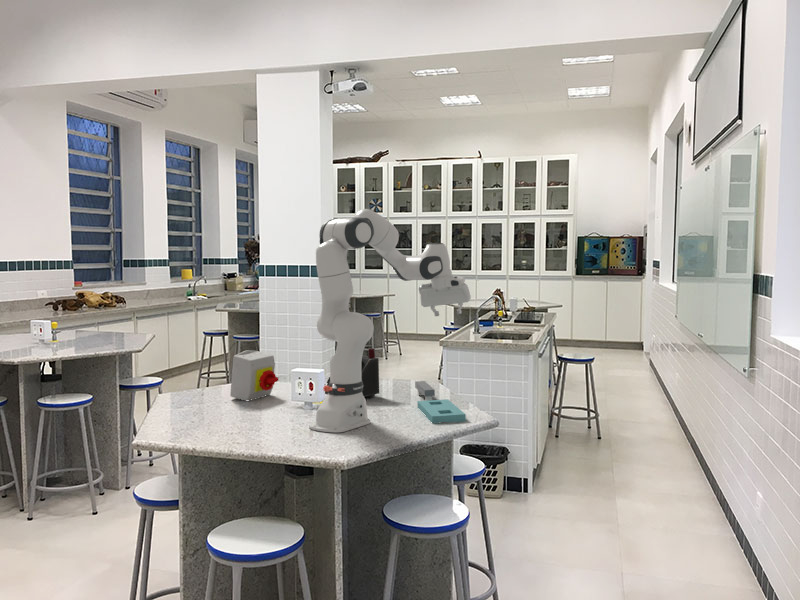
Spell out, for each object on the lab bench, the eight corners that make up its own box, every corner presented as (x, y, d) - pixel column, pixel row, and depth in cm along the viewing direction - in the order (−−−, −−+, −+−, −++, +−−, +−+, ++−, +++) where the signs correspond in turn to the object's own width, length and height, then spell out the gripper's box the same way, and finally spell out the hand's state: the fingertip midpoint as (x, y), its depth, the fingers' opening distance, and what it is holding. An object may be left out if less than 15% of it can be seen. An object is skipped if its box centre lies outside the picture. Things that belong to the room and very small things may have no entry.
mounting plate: (465, 421, 222) (465, 414, 222) (432, 423, 220) (432, 416, 220) (447, 405, 246) (447, 399, 246) (417, 407, 244) (417, 401, 243)
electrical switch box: (256, 408, 256) (260, 360, 254) (229, 399, 264) (233, 352, 261) (280, 401, 269) (284, 355, 266) (254, 392, 276) (258, 347, 274)
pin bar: (434, 403, 250) (434, 389, 250) (424, 404, 249) (424, 390, 249) (424, 393, 268) (424, 380, 267) (415, 394, 267) (415, 381, 266)
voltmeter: (324, 397, 265) (323, 349, 264) (355, 391, 276) (354, 345, 275) (348, 403, 253) (346, 353, 252) (379, 396, 264) (378, 349, 263)
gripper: (415, 286, 256) (421, 319, 259) (464, 280, 249) (470, 314, 252) (420, 283, 261) (426, 315, 264) (468, 277, 254) (473, 309, 257)
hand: (448, 314), depth 258 cm, fingers open, 8 cm apart
